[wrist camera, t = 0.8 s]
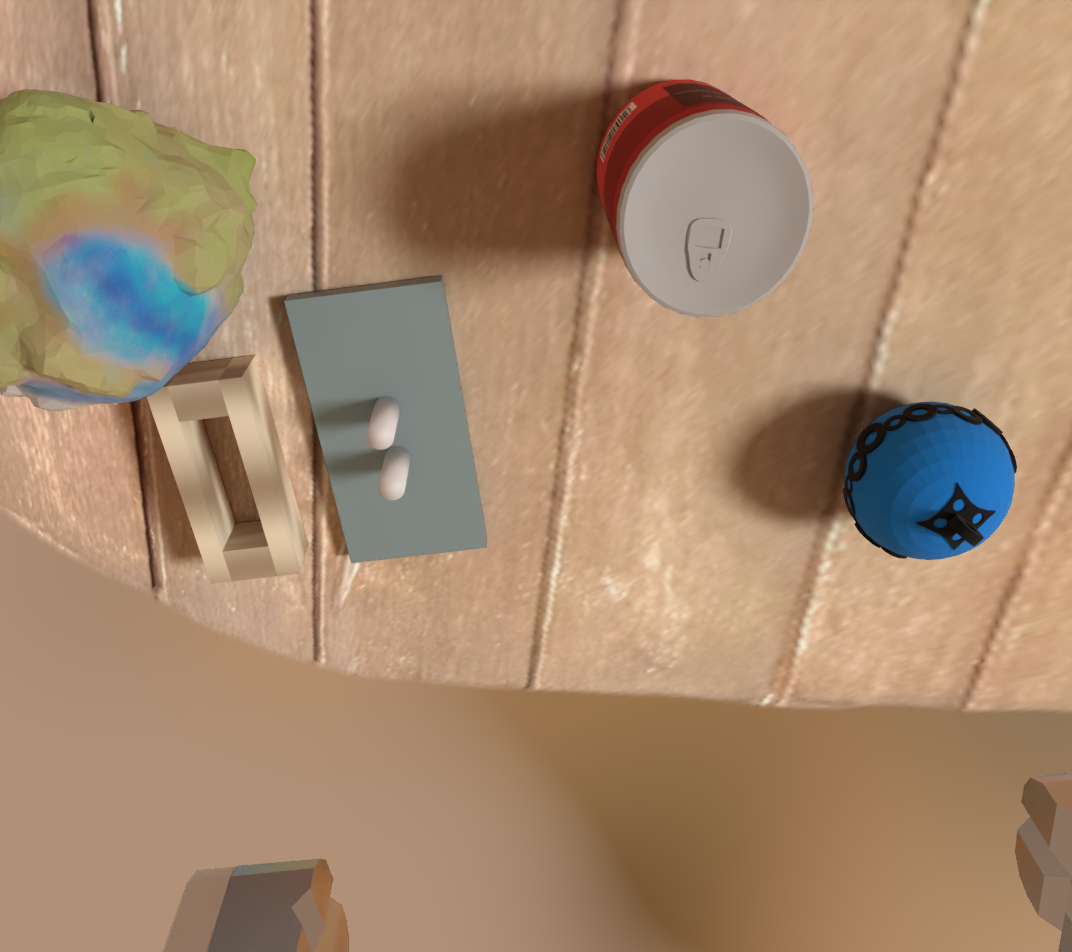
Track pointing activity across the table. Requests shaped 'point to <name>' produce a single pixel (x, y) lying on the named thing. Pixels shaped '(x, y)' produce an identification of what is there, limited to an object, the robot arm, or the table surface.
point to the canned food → (703, 198)
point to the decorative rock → (111, 248)
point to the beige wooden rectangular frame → (187, 446)
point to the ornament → (929, 480)
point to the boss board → (390, 416)
